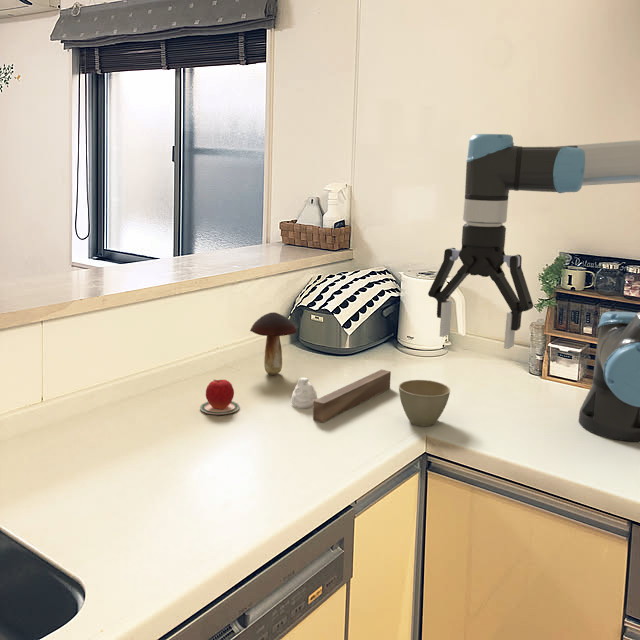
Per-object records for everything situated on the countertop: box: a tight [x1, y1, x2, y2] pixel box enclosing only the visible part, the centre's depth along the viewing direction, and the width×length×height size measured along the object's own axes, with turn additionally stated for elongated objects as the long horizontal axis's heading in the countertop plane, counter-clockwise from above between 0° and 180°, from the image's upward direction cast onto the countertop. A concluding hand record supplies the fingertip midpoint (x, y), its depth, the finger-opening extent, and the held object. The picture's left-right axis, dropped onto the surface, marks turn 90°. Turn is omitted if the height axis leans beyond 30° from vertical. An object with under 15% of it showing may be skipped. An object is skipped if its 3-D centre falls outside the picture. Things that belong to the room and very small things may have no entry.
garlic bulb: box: [291, 377, 319, 409], centre depth 148 cm, size 6×6×5 cm
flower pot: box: [398, 379, 451, 427], centre depth 139 cm, size 10×10×7 cm
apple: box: [199, 379, 240, 415], centre depth 144 cm, size 8×8×6 cm
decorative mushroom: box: [249, 312, 298, 376], centre depth 165 cm, size 11×11×15 cm
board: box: [312, 369, 392, 424], centre depth 149 cm, size 2×26×4 cm, turn 145°
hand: (475, 341), depth 130 cm, fingers open, 12 cm apart
